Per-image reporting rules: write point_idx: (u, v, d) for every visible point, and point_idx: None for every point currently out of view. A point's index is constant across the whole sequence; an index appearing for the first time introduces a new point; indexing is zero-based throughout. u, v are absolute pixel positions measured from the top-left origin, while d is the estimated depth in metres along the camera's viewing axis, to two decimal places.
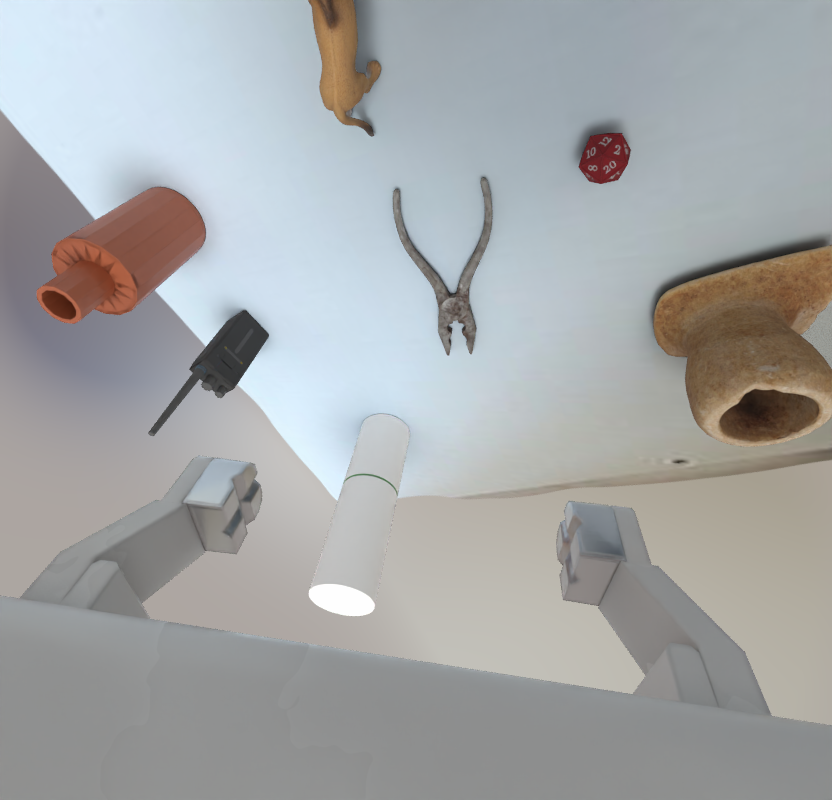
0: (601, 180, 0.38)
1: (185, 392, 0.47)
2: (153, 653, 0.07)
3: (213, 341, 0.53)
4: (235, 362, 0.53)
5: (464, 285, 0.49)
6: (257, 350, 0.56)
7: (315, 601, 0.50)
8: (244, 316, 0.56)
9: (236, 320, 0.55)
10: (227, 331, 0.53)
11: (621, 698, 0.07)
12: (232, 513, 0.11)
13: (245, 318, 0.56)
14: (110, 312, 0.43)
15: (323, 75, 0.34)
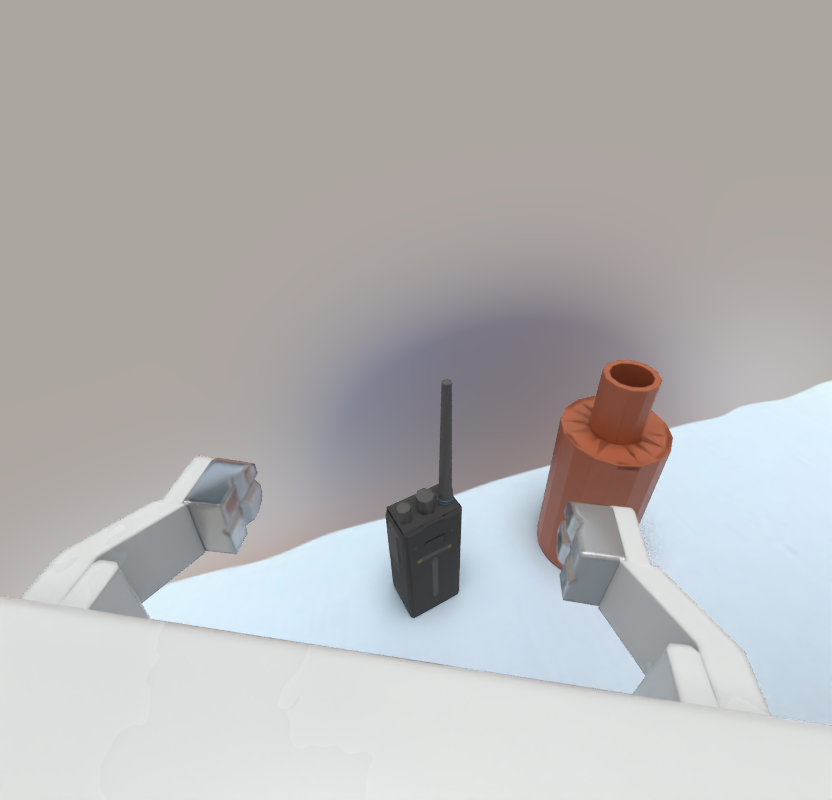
0: None
1: (448, 461, 0.28)
2: (153, 653, 0.07)
3: None
4: (426, 553, 0.31)
5: None
6: (412, 592, 0.33)
7: None
8: (454, 588, 0.36)
9: (458, 575, 0.35)
10: (459, 557, 0.34)
11: (621, 698, 0.07)
12: (232, 513, 0.11)
13: (452, 589, 0.36)
14: (564, 424, 0.33)
15: None
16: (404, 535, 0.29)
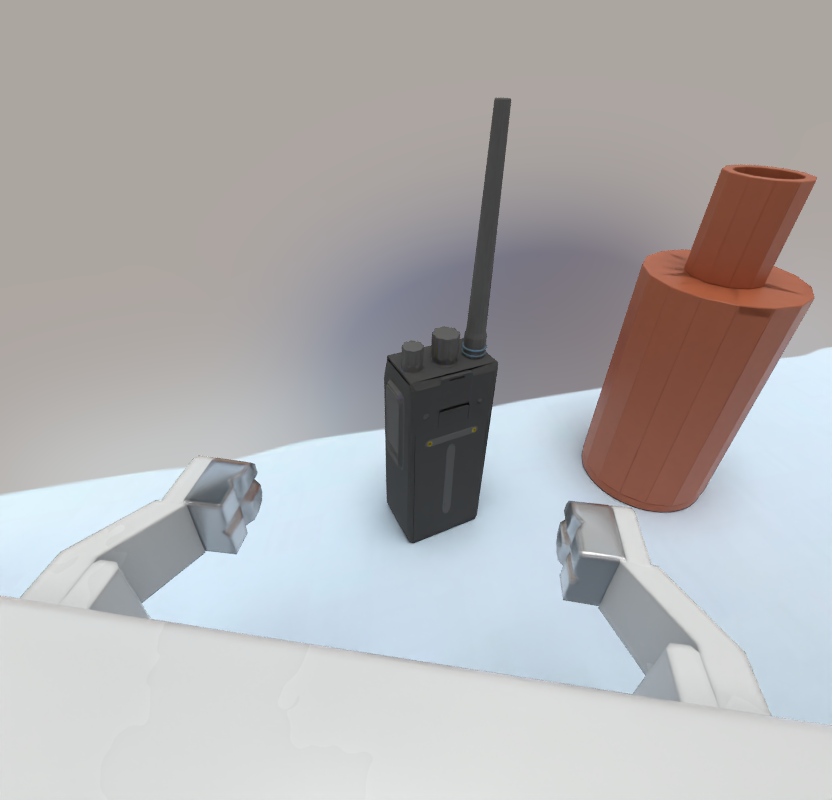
0: None
1: (487, 270, 0.19)
2: (153, 653, 0.07)
3: None
4: (440, 431, 0.21)
5: None
6: (413, 498, 0.23)
7: None
8: (472, 508, 0.26)
9: (479, 487, 0.25)
10: (484, 455, 0.24)
11: (621, 698, 0.07)
12: (232, 513, 0.11)
13: (468, 508, 0.26)
14: (649, 268, 0.23)
15: None
16: (411, 386, 0.19)
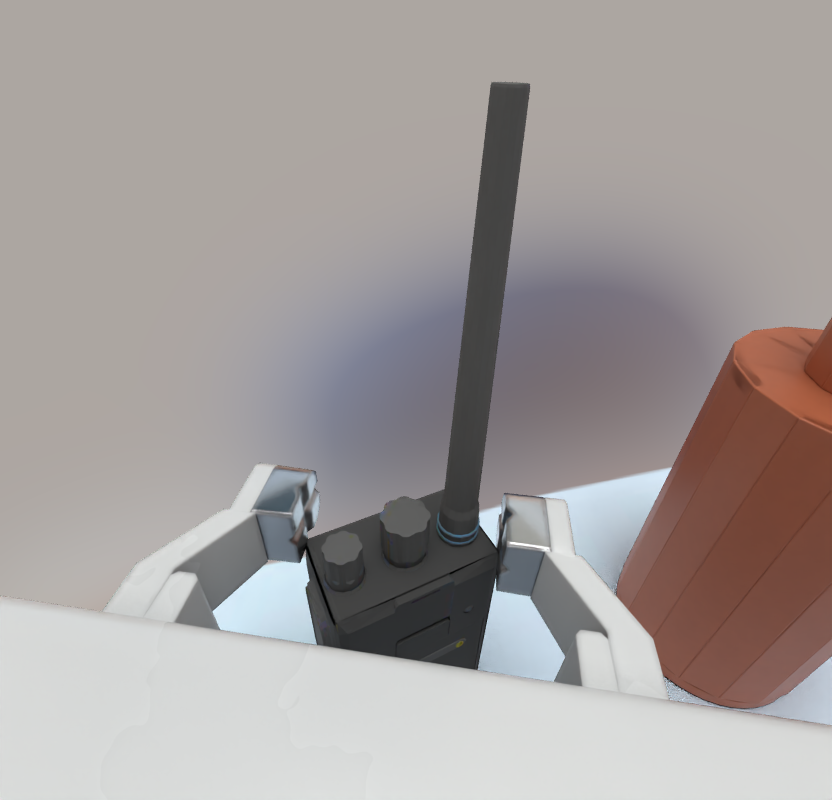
0: None
1: (478, 419, 0.10)
2: (153, 653, 0.07)
3: None
4: None
5: None
6: None
7: None
8: None
9: None
10: (477, 661, 0.15)
11: (621, 698, 0.07)
12: (298, 522, 0.11)
13: None
14: (749, 372, 0.14)
15: None
16: (338, 627, 0.10)
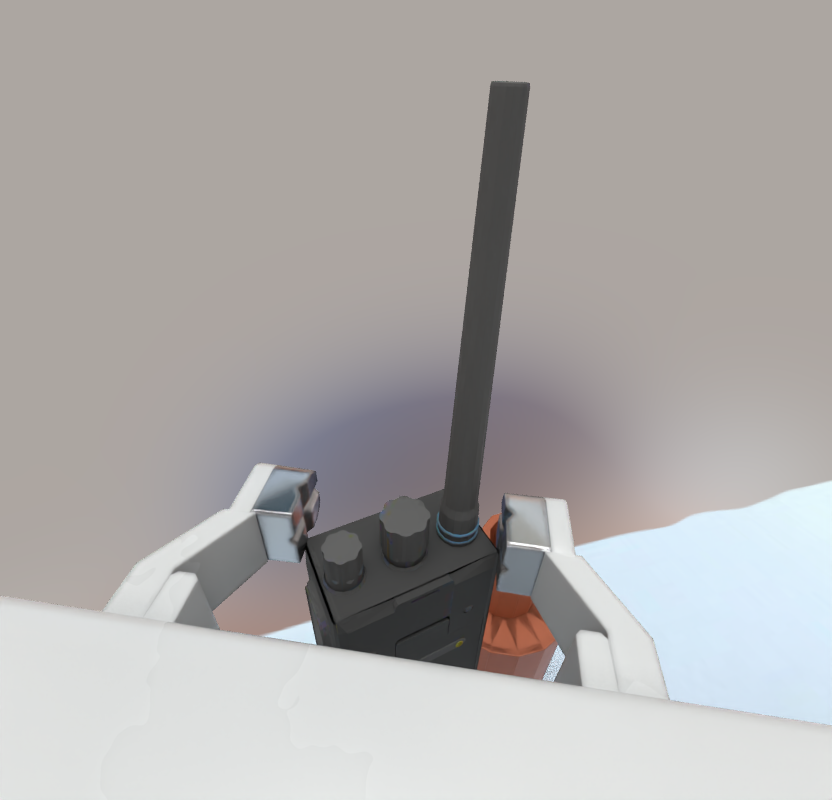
0: None
1: (478, 419, 0.10)
2: (153, 653, 0.07)
3: None
4: None
5: None
6: None
7: None
8: None
9: None
10: (476, 661, 0.15)
11: (621, 698, 0.07)
12: (298, 522, 0.11)
13: None
14: None
15: None
16: (338, 627, 0.10)
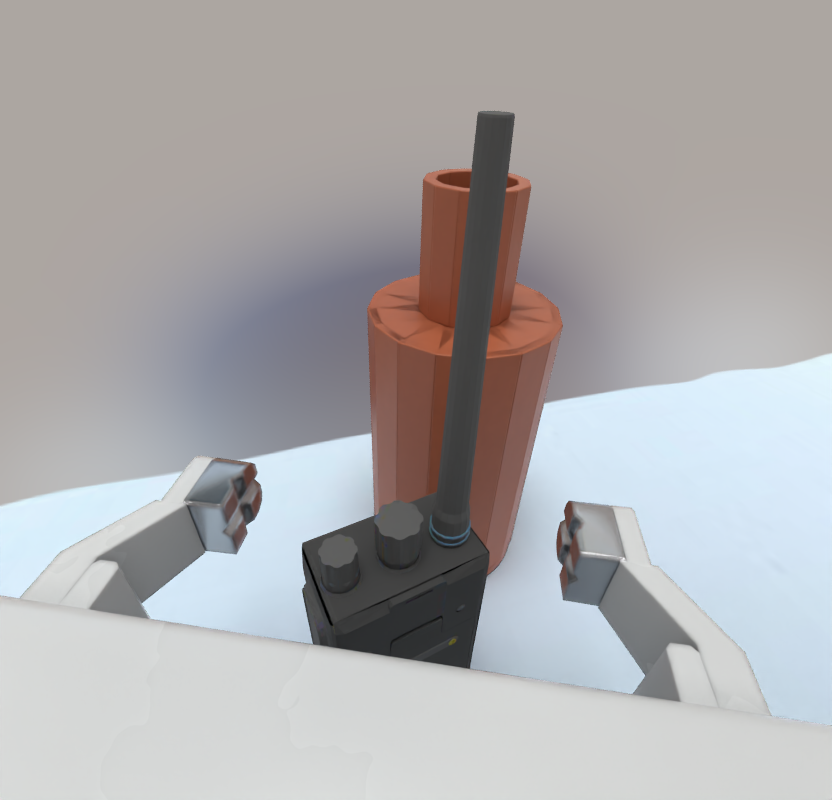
0: None
1: (468, 426, 0.10)
2: (153, 653, 0.07)
3: None
4: None
5: None
6: None
7: None
8: None
9: None
10: (469, 658, 0.15)
11: (621, 698, 0.07)
12: (232, 513, 0.11)
13: None
14: (376, 299, 0.18)
15: None
16: (335, 627, 0.11)
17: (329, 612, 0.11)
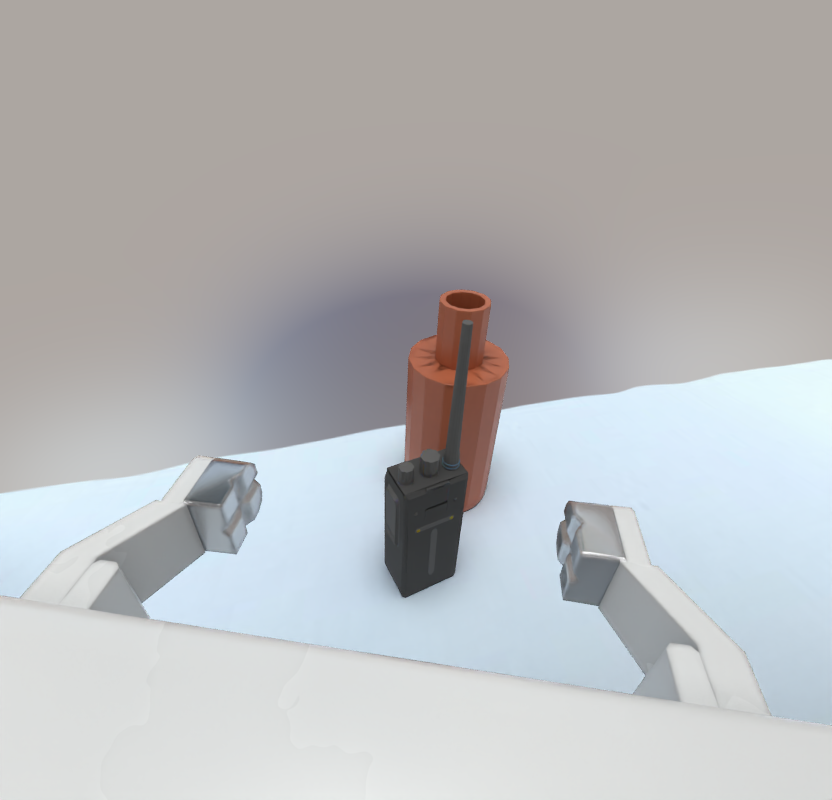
0: None
1: (459, 417, 0.26)
2: (153, 653, 0.07)
3: None
4: (426, 522, 0.29)
5: None
6: (406, 567, 0.31)
7: None
8: (451, 568, 0.33)
9: (456, 554, 0.33)
10: (459, 532, 0.32)
11: (621, 698, 0.07)
12: (232, 513, 0.11)
13: (448, 569, 0.33)
14: (412, 351, 0.34)
15: None
16: (405, 497, 0.27)
17: (402, 491, 0.27)
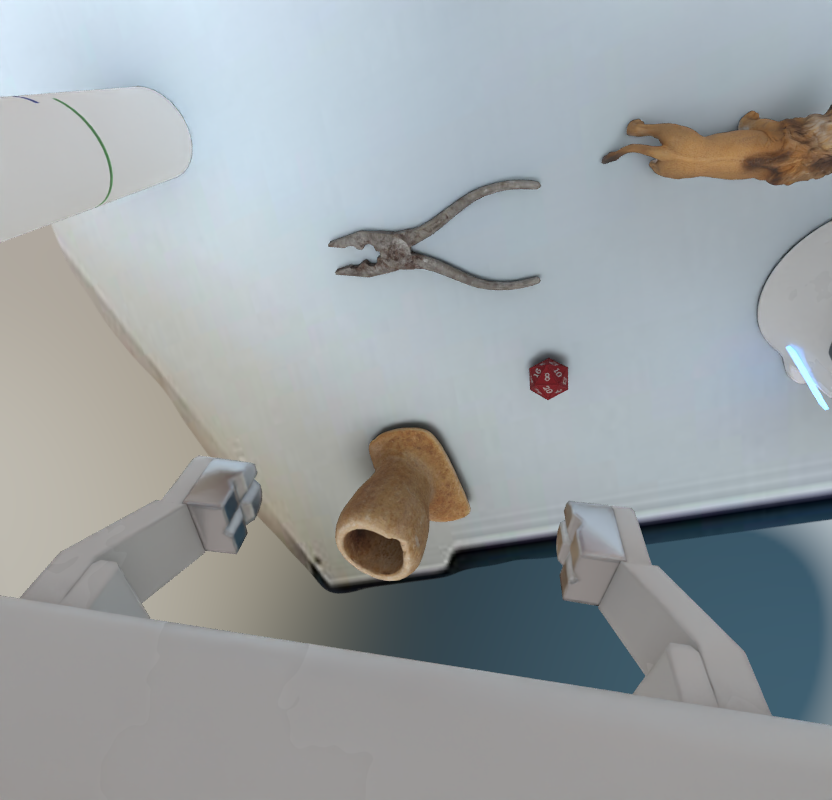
0: (537, 385, 0.47)
1: None
2: (153, 653, 0.07)
3: None
4: None
5: (426, 264, 0.44)
6: None
7: None
8: None
9: None
10: None
11: (621, 698, 0.07)
12: (232, 513, 0.11)
13: None
14: None
15: (706, 143, 0.31)
16: None
17: None
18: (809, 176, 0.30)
